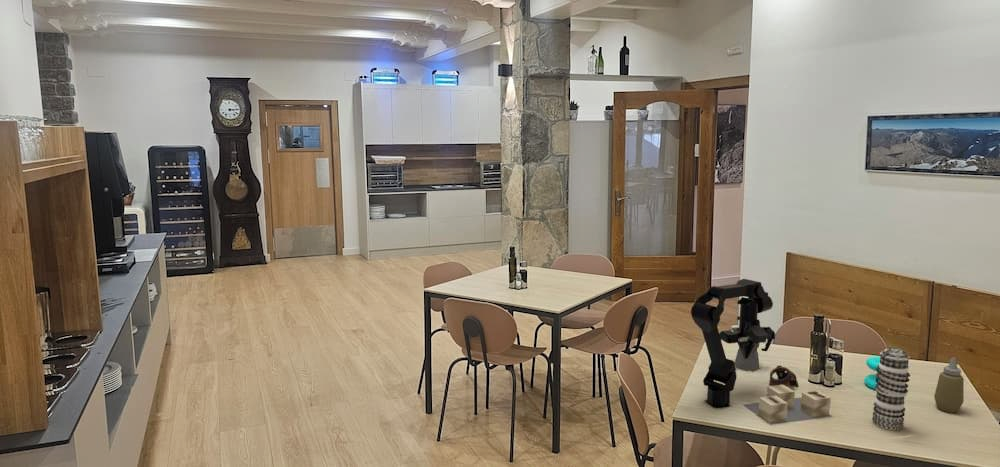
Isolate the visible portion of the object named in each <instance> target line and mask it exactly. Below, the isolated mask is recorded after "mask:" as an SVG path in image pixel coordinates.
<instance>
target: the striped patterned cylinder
mask: <svg viewBox="0 0 1000 467" xmlns="http://www.w3.org/2000/svg"><path fill="white" fill-rule="evenodd" d="M879 355H880V356H879V357H880V362H879V365H878V366H877V367H876V371H875V372H876V373H875V374H876V382H877V384H876V385H875V386H876V396H875V401H874V402H873V411H872V418H871V420H872V422H873V423H874V425H875V426H877V427H879V428H882V429H884V430H889V431H897V430H900V429H903V428H902V427H904V424H905V423H904V422H905V418H904V417H905V414H906V413H905V412H906V408H905V397H906V396H907V393H908V392H909V391H908V389H907V388H909V385H908V383H909V382H910V381H911V380H910V378H909V377H910V376H911V374H910V373H909V368H910V366H909V360H911V357H910V356H909V355H908V353H907V352H906V351H904V350H903V349H899V348H896V347H895V348H894V347H888V348H885V349H884V350H882V351H880V352H879ZM879 369H880V371H879ZM878 380H879V381H878Z"/></svg>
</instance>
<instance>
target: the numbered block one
mask: <svg viewBox="0 0 1000 467" xmlns="http://www.w3.org/2000/svg"><path fill="white" fill-rule="evenodd" d="M758 400H759V402H758V403H759V412H758V415H759V416H761V417H762V418H764V419H765V420H766V421H768V422H769V423H774V422H782V421H786V420H787V407H788V403H787V402H785V401H783V400H782V399H780V398H779V397H777V396H768V397H767V396H761V397H759V399H758ZM758 415H757V416H758ZM759 416H758V417H759ZM762 418H761V419H762ZM765 420H764V421H765ZM766 421H765V422H766ZM769 423H768V424H769Z"/></svg>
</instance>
